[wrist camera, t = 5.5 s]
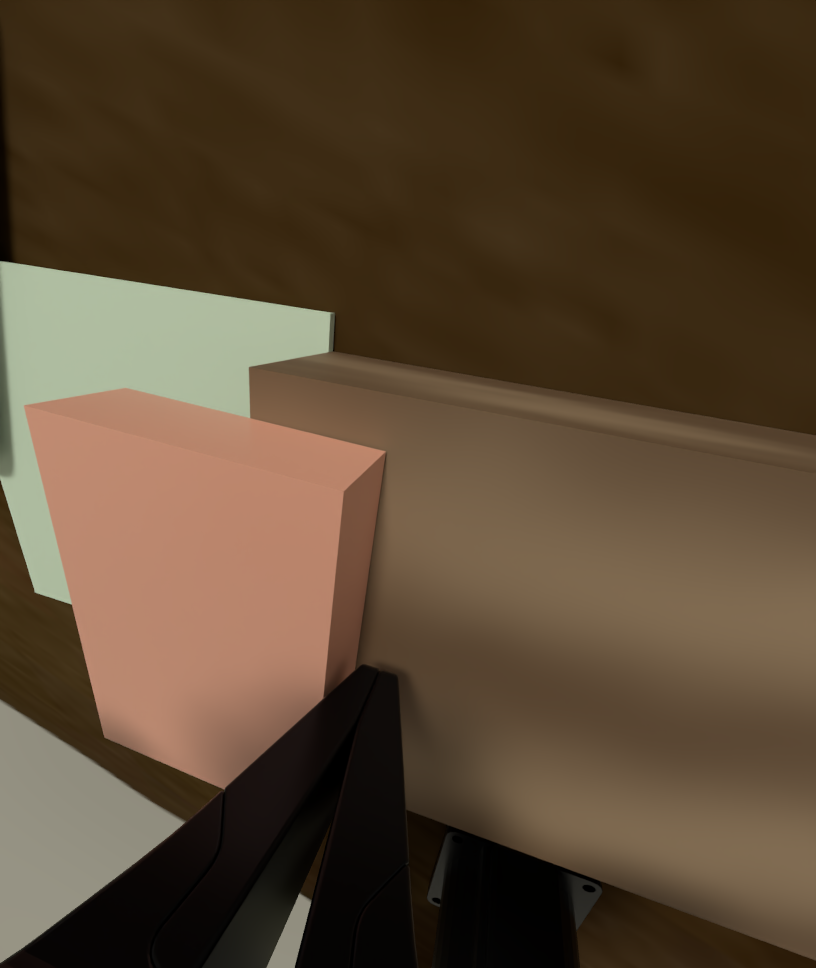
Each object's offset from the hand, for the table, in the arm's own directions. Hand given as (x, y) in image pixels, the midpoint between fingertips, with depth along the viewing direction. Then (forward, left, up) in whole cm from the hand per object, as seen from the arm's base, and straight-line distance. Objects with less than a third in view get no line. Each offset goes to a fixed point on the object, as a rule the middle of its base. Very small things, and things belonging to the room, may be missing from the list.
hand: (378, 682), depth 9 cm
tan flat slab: (0, -5, -5) cm, 7 cm away
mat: (0, +11, -5) cm, 12 cm away
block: (0, +4, -1) cm, 4 cm away
